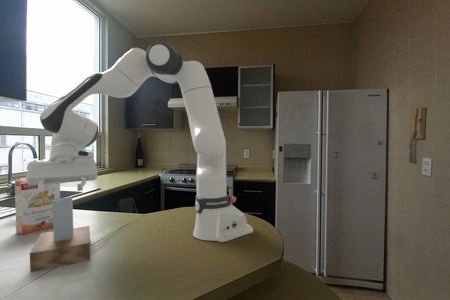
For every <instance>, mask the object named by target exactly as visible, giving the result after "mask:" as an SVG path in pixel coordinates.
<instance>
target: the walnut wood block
mask: <svg viewBox="0 0 450 300" xmlns="http://www.w3.org/2000/svg"><path fill="white" fill-rule="evenodd" d="M90 234H91V233H90V225H87V226H81V227H80V226H79V227H73V239H67V240H61V241H55V242H54V233H53V231H47V232H41V233H40V234H39V236H38V238H37V240H36V241H35V243H34V245H33V246H32V248H31V251H30V252H29V269H30V270H29V271H30V273H32V272H37V271H42V270H47V269H52V268H57V267H62V266H67V265H72V264H76V263H80V262H87V261H90V260H91V237H90V236H91V235H90ZM86 260H87V261H86Z"/></svg>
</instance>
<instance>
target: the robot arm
mask: <svg viewBox="0 0 450 300" xmlns="http://www.w3.org/2000/svg"><path fill="white" fill-rule="evenodd" d="M152 77H153V79H155V80H158V81H160V82H162V83H164V84H166V85H175V84H178V85H179V89H180V91H181V96H182V99H183V104H184V107H185V111H186V114H187V118H188V125H189V130H190V136H191V140H192V144H193V147H194V148H193V149H194V151H195V152H196V153H197V155H196V156H197V158H196V161H197V162H196V172H195V176H196V178H195V179H196V180H195V182H196V195H195V202H194V203H195V204H194V206H195V213H196V215H195V224H194V229H193V232H192V236H193V237H194V238H196V239H198V240H201V241H214V242H220V243H225V242H227V241H231V240H234V239H237V238H239V237H243V236H245V235H249V234H252V233H254V229H253V227H252V225H250V224H248V221H247V217H246V215H245V214H244V213H243V212H242V211H241V210H239V209H238V208H237V207H236V206H234V205H232V203H235V202H236V201H237V198H236V196H233V195H228V194H227V148H226V147H227V146H226V145H227V143H226V142H227V140H226V138H225V134H224V130H223V127H222V123H221V119H220V118H221V117H220V115H219V111H218V107H217V104H216V100H215V96H214V93H213V88H212V84H211V81H210V79H209V78H210V77H209V76H208V74H207V71H206V69H205V67H204V65H203V64H202V63H201V62H199V61H197V60H188V61H184V58H183V56H182V55H181V54H180V53H179V51H177V50H176V48H175V47H173V46H172V45H171V44H169V43H168V42H164V41H155V42H152V43H151V44H150V45H148V47H147V48H146V50H144V49H143V48H139V47H133V48H131V49H130V50H129V51H127V52H126V53H124V54H123V56H122V57H120V58H119V59H118V60H117V61H116V62H115V64H114V65H113V66H111V68H109V69H108V70H106V71H104V72H97V71H96V72H94V73H91V74H89V75H88V76H86V77H85V78H83V80H82V81H80V82H79V83H77V84H76V85H75V86H73V88H71V89H69V90H68V91H67V92H66V93H65V94H64V95H63V96H61V97H60V98H59V99H57V100H55V101H54V102H52V103H51V104H49V105H48V106H47V107H45V108H44V109H43V110H42V112H41V113H40V117H39V119H40V120H39V121H40V124H41V125H42V127H43V129H44V130H45V131H47V132H50V133H52V137H51V142H50V143H51V144H50V146H51V149H50V153H49V159H42V160H41V159H40V160H39V159H34V160H33V161H30V162H28V164H27V167H26V169H27V171H26V174H25V177H26V181H27V183H28V184H29V185H38V184H39V185H40V187H41V188H42V192H43V194H48V193H49V187H48V186H45V184H51V183H60V184H63V183H64V184H65V183H75V182H80V183H77V187H76V188H77V191H78V192H82V191H83V189H84V188H83V187H84V186H85V185H86V184H87V181H88V182H90V181H95V180H97V179H98V169H97V163H96V161H95V159H94V158H93V153H92V152H91V151H86V150H83V149H85V148H88V147H90V146H91V145H93V144H94V143H95V142H96V141H97V139H98V137H99V125H98V124H97V122H95V121H93V120H91V119H90V118H88V117H86V116H84V115H83V114H80V113H78V111H76V110H73V109H74V108H76V107H77V106H78V105H79V104H80V103H82V102H83V101H84V100H85V99H87V98H88V97H89V96H92V95H104V96H110V97H112V98H117V99H125V98H129V97H131V96H133V94H135V93H136V92H137V91H138V89H139V88H140V87H141V86H142V85H143V83H144V82H145V81H146V80H147V79H148V78H152Z"/></svg>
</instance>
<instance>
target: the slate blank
mask: <svg viewBox="0 0 450 300" xmlns="http://www.w3.org/2000/svg"><path fill="white" fill-rule="evenodd" d="M52 204H53V227H52V228H53V229H52V230H53V233H54V242H55V241H61V240H67V239H73V228H74V214H73V213H74V209H73V196H68V197H60V198H56V199H54V200H53V201H52Z"/></svg>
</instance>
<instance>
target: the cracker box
mask: <svg viewBox="0 0 450 300" xmlns="http://www.w3.org/2000/svg"><path fill="white" fill-rule="evenodd" d="M45 186H48V187H49V193H48V194H43V192H42V188H41V187H40V185H39V184H38V185H29V184H28V183H27V181H26V179H21V178H19V179H18V178H17V179H15V180H14V199H15V200H14V202H15V233H17V234H20V235H22V236H23V235H26V234H31V233H35V232H39V231H42V230H45V229H49V228H53V204H52V201H53V200H54V199H56V198H61V183H51V184H45Z"/></svg>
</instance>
